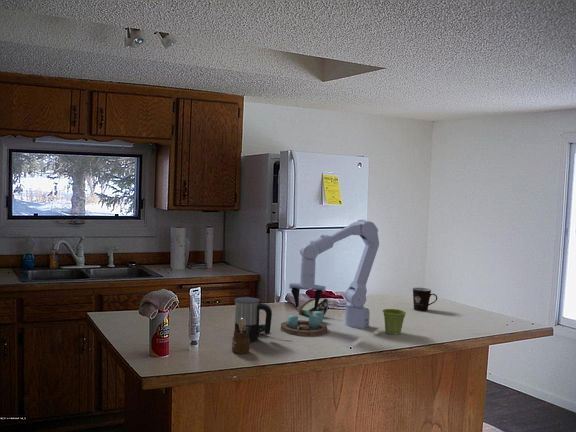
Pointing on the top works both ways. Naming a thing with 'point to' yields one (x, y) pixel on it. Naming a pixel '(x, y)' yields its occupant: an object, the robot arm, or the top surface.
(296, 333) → the groove tray
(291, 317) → the bead
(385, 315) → the plant pot
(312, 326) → the seated bead
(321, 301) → the food container
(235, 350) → the brown bottle
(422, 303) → the coffee mug
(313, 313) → the loose bead
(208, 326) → the top surface
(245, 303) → the milk frother
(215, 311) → the top surface
